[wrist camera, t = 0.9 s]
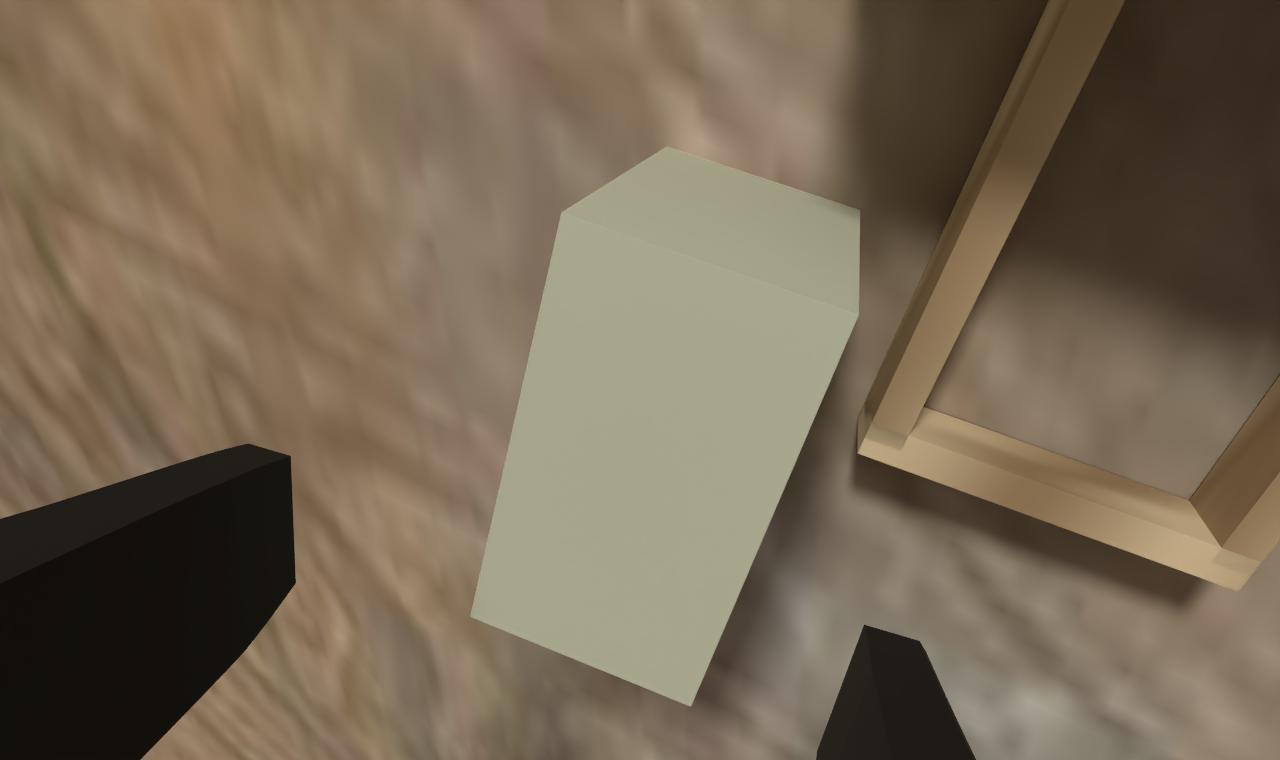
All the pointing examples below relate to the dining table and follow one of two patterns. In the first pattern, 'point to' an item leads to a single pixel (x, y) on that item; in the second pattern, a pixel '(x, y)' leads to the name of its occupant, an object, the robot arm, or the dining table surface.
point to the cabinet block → (664, 412)
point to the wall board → (1011, 469)
